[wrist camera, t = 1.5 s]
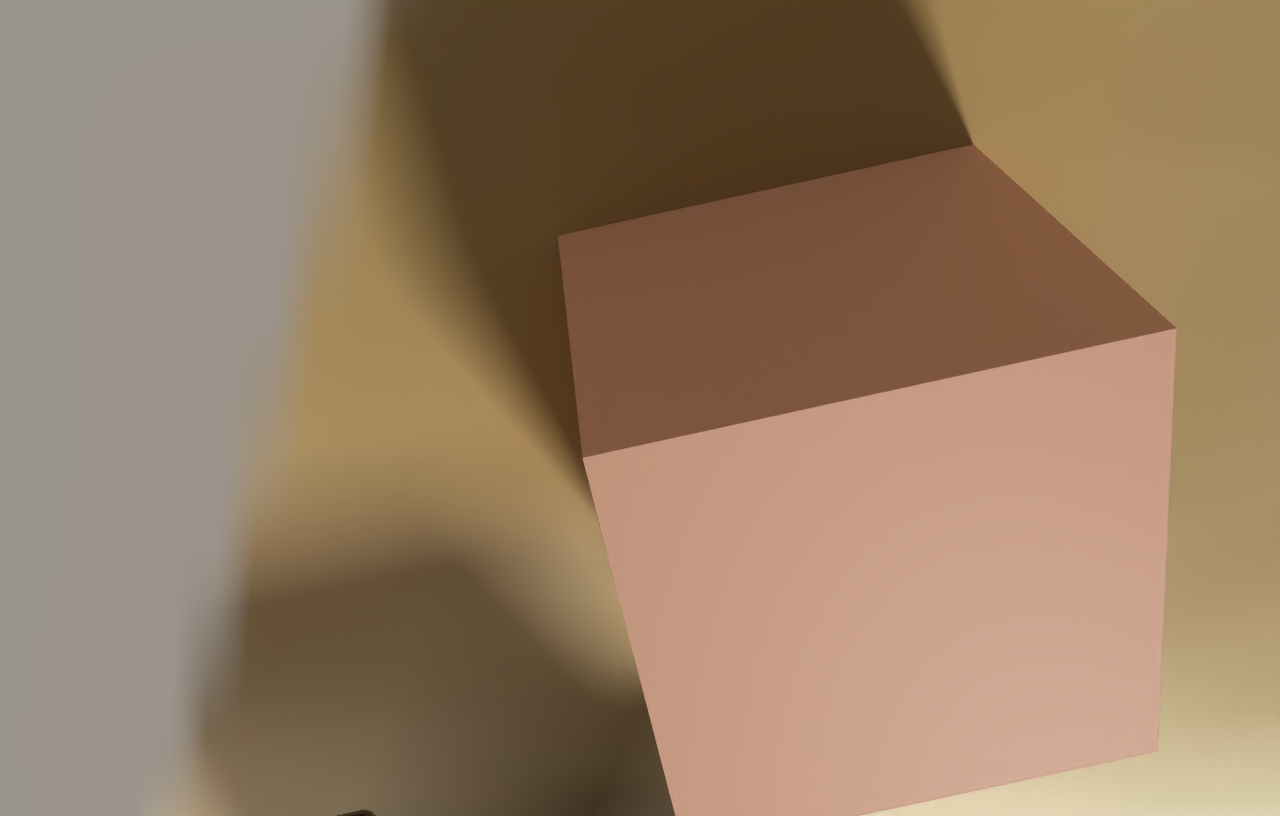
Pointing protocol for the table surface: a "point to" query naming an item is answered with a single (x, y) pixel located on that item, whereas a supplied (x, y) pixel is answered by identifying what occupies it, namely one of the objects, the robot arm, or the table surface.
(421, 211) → the table surface
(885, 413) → the terracotta cube
